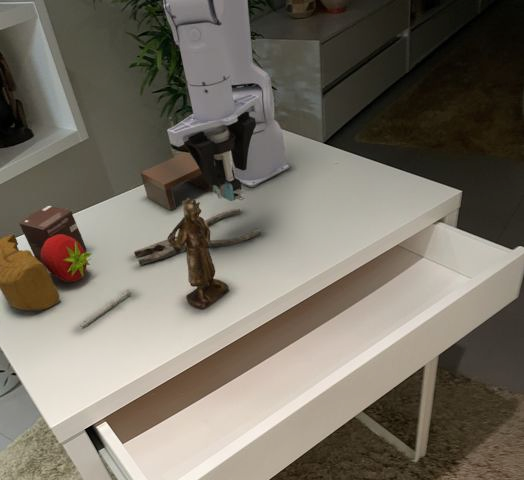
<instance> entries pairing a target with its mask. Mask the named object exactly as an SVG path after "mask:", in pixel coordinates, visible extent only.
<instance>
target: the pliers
mask: <svg viewBox="0 0 524 480" xmlns="http://www.w3.org/2000/svg"><path fill="white" fill-rule="evenodd" d="M241 212H242V210H241V208H234V209H231V210H227V211H223V212H221V213H217V214H215V215H213V216H211V217H209V218H207V219H206V220H205V222H206V224H207V225H208V226H210V224H212V223H214V222H217V221H218V220H220V219H223V218H225V217H229V216H232V215H237V214H240V213H241ZM260 234H261V230H260V229H256V230H253V231H252V232H249V233H247V234H243V235H241V236H236V237H233V238H228V239H227V238H225V239H210V243H209V247H215V246H226V245H232V244H237V243H240V242H243V241H247V240H249V239H252V238H254V237H257V235H260ZM176 239H177V236H175V241H176ZM159 250H161V251H159ZM182 252H187V246H186V242H185V244H184V246H183V249H182V250H181V251H180V252H179V253H182ZM133 254H134V257H136V258H138V257H141V258H139V259H137V262H138V264H139V265H140V266H142V265H145V264H148V263H152V262H156V261H159V260H162V259H165V258H168V257H171V256H174V255H177V254H178V253H176V251H175V250H174V248H173V246H172V245H171V244H170V243H169V242H168V240H167V239H165V240H162V241H159V242H156V243H154V244H150V245H148V246H145V247H142V248H140V249H137V250H135V251H133ZM148 254H149V255H148ZM142 256H143V257H142Z"/></svg>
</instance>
